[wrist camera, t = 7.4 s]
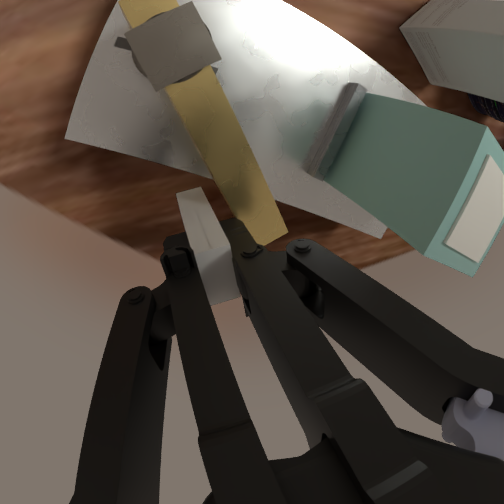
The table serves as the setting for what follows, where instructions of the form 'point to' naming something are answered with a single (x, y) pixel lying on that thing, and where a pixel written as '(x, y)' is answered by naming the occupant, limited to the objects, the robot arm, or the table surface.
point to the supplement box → (460, 45)
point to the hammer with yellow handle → (201, 105)
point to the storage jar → (488, 106)
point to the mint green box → (424, 178)
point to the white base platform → (245, 100)
